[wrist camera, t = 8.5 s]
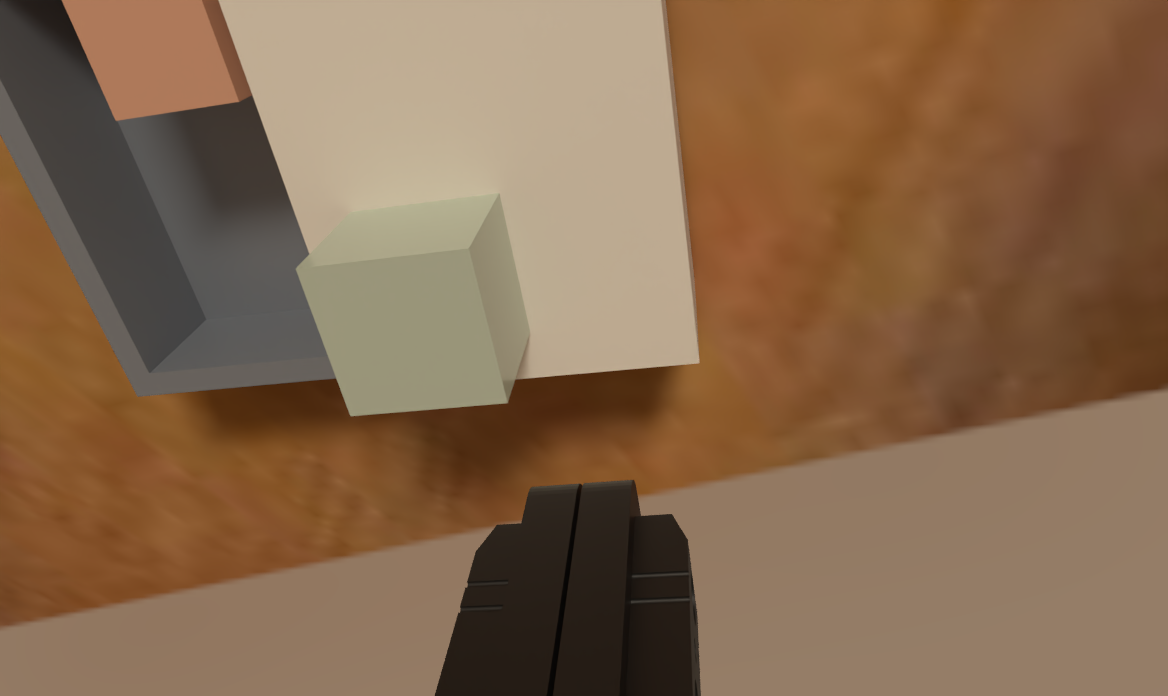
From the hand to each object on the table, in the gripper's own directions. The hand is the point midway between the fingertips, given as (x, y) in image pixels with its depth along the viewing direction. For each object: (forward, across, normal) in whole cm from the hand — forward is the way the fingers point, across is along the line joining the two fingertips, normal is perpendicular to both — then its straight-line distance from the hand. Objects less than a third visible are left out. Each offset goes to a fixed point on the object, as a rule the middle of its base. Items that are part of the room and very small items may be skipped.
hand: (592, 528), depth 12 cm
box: (+15, +12, -4) cm, 20 cm away
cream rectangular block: (+15, +3, -4) cm, 16 cm away
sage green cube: (+10, +5, 0) cm, 11 cm away
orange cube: (+13, +9, -7) cm, 17 cm away
